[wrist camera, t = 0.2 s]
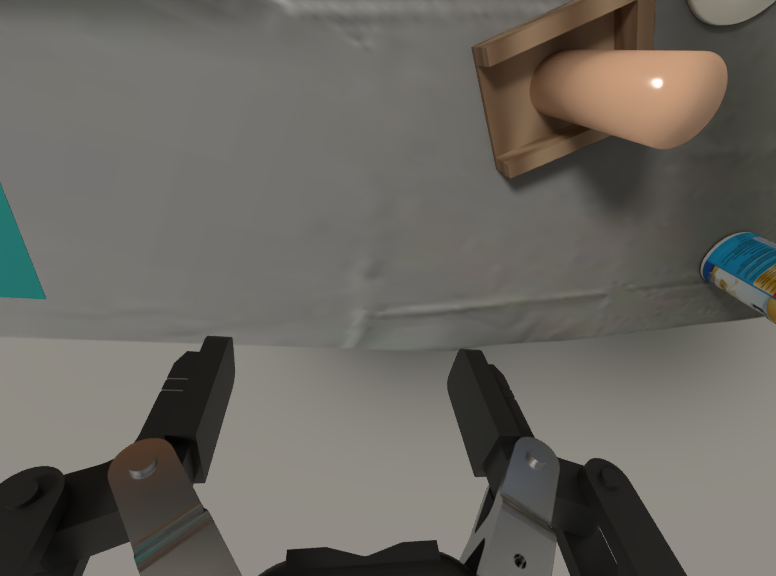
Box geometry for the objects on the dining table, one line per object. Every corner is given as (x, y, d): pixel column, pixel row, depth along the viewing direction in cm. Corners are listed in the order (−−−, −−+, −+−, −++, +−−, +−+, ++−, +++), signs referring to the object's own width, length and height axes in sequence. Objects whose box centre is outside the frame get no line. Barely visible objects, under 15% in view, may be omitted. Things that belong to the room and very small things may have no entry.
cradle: (496, 169, 40) (510, 178, 37) (471, 47, 33) (486, 47, 30) (624, 113, 38) (649, 119, 36) (626, -25, 32) (657, -32, 29)
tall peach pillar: (533, 124, 37) (638, 162, 25) (525, 64, 34) (641, 75, 22) (606, 92, 36) (751, 115, 24) (605, 28, 33) (771, 18, 21)
